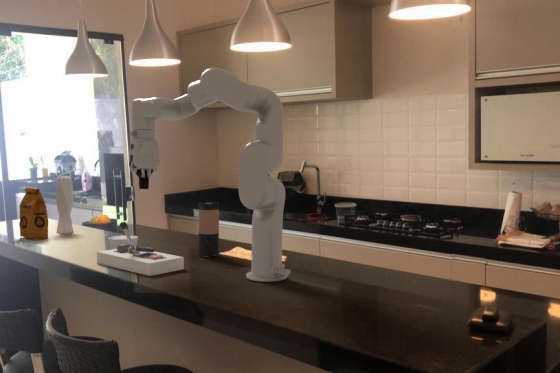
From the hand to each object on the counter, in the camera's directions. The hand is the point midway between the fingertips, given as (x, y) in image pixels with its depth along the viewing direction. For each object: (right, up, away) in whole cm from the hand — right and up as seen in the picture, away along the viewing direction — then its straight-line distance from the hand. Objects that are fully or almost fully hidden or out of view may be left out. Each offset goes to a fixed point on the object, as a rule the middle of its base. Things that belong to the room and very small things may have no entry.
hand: (143, 188), depth 197 cm
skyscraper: (-53, -21, +70) cm, 90 cm away
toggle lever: (-3, -21, -2) cm, 21 cm away
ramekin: (-14, -24, +26) cm, 38 cm away
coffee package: (-60, -22, +52) cm, 82 cm away
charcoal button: (-8, -23, +2) cm, 24 cm away
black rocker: (+2, -20, -5) cm, 21 cm away
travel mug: (+20, -25, +17) cm, 37 cm away
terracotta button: (+6, -25, -9) cm, 28 cm away
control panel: (-1, -26, -3) cm, 26 cm away
